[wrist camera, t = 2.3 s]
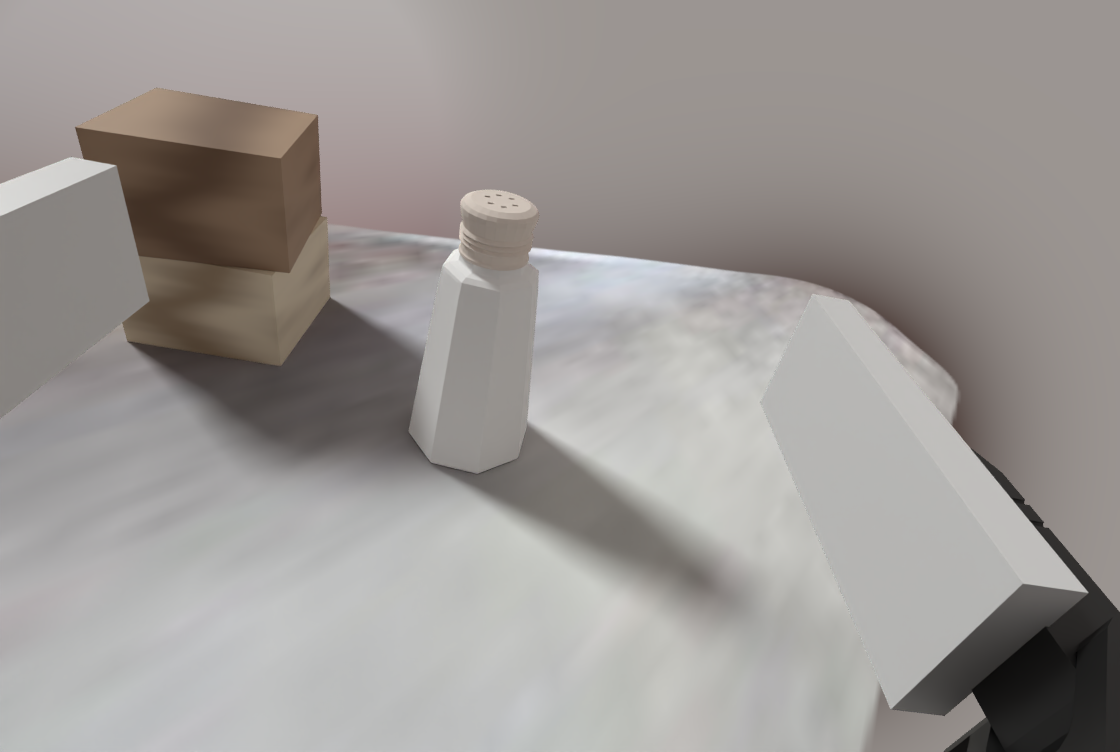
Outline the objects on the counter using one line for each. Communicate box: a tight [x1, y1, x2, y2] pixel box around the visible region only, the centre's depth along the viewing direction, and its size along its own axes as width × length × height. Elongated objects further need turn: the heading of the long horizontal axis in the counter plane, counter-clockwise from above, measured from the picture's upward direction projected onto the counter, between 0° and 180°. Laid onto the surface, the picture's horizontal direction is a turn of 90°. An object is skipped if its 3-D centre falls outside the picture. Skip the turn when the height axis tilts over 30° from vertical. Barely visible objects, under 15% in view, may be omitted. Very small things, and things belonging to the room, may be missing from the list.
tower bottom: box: [122, 216, 330, 366], centre depth 29 cm, size 7×7×5 cm
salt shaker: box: [408, 190, 539, 474], centre depth 24 cm, size 5×5×11 cm
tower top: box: [75, 88, 322, 273], centre depth 26 cm, size 7×7×5 cm
